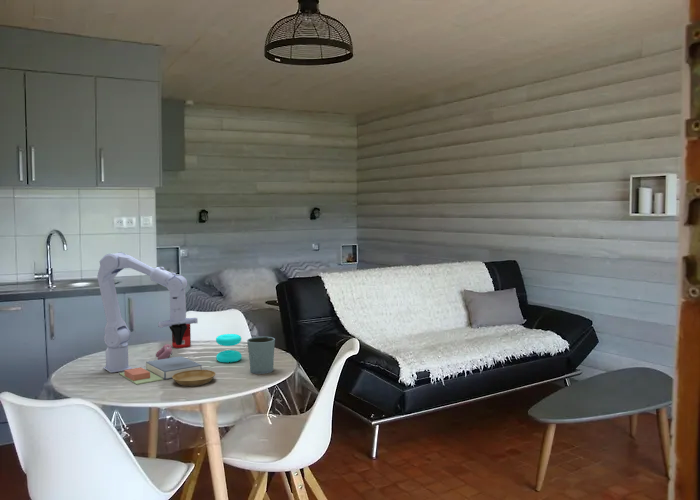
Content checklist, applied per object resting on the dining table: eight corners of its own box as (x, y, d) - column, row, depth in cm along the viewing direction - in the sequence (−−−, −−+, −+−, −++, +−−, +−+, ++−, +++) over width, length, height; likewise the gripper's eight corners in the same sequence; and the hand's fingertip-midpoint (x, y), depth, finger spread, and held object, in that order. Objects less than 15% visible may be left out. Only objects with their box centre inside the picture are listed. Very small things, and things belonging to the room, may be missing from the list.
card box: (140, 367, 221) (141, 372, 221) (124, 370, 217) (124, 375, 217) (150, 372, 214) (150, 377, 214) (133, 375, 210) (133, 380, 210)
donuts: (245, 334, 244) (233, 338, 234) (246, 358, 244) (233, 364, 235) (224, 332, 247) (211, 337, 237) (224, 356, 247) (211, 362, 238)
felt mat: (119, 374, 221) (119, 373, 221) (144, 369, 227) (144, 368, 227) (136, 384, 207) (136, 383, 207) (163, 379, 213) (163, 378, 213)
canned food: (194, 345, 269) (193, 321, 268) (180, 349, 262) (180, 324, 261) (182, 343, 273) (181, 319, 272) (168, 347, 266) (168, 322, 265)
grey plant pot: (279, 368, 228) (278, 337, 227) (268, 375, 218) (268, 342, 217) (254, 366, 230) (254, 335, 230) (243, 373, 221) (242, 341, 220)
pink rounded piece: (167, 365, 240) (175, 349, 241) (156, 361, 238) (164, 344, 239) (165, 359, 249) (172, 344, 250) (154, 355, 247) (162, 340, 248)
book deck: (145, 369, 227) (145, 361, 227) (181, 363, 236) (181, 356, 236) (164, 379, 213) (164, 371, 213) (201, 373, 222) (201, 364, 221)
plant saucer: (172, 389, 201) (172, 382, 201) (172, 378, 215) (172, 371, 215) (217, 386, 205) (217, 378, 205) (214, 375, 220) (214, 368, 219)
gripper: (163, 311, 216) (164, 349, 217) (200, 307, 225) (201, 343, 226) (155, 309, 222) (156, 345, 222) (192, 305, 231) (193, 340, 232)
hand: (178, 344), depth 225 cm, fingers closed
